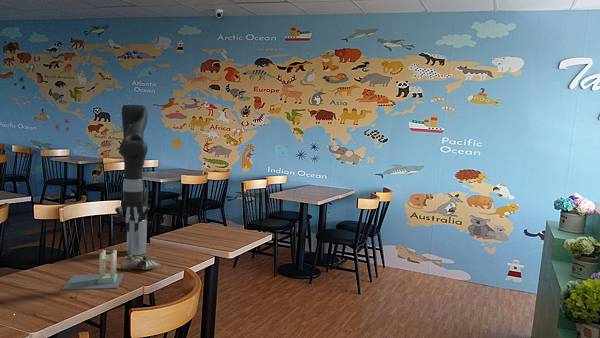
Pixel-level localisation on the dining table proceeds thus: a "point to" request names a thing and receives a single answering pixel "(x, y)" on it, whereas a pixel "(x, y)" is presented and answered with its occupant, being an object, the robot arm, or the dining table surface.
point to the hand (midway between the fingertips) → (132, 231)
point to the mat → (90, 282)
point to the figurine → (140, 263)
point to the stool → (102, 263)
